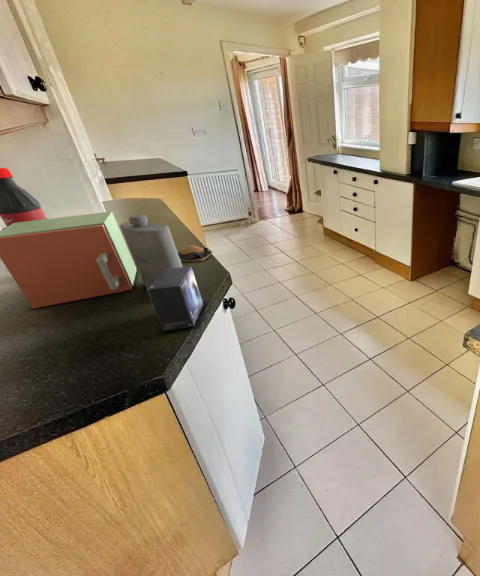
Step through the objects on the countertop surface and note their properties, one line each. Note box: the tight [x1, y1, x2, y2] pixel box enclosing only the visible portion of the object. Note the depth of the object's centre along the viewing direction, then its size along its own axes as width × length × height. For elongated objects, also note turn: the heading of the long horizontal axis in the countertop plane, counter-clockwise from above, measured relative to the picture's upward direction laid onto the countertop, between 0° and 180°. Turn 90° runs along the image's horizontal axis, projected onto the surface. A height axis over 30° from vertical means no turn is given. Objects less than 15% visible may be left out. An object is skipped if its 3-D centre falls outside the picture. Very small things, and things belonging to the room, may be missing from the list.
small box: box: [146, 266, 204, 332], centre depth 70 cm, size 11×6×10 cm, turn 17°
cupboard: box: [0, 210, 138, 288], centre depth 83 cm, size 13×20×18 cm, turn 121°
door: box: [0, 225, 133, 309], centre depth 75 cm, size 6×20×18 cm, turn 117°
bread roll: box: [177, 245, 214, 263], centre depth 104 cm, size 11×8×4 cm
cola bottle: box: [0, 167, 48, 228], centre depth 88 cm, size 8×8×30 cm
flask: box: [119, 213, 184, 289], centre depth 81 cm, size 15×6×20 cm, turn 64°
